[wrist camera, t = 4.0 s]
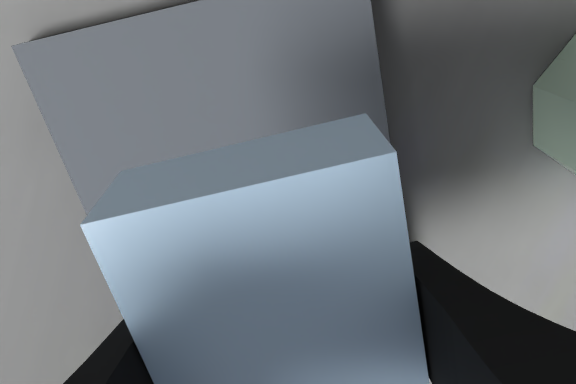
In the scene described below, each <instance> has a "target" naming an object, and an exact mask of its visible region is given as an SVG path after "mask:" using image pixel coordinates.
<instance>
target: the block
mask: <svg viewBox="0 0 576 384" xmlns="http://www.w3.org/2000/svg"><path fill="white" fill-rule="evenodd" d="M80 226H81V228H82V230H83V232H84V234H85V237H86V239H87V241H88V243H89V245H90V247H91V249H92V252H93V254H94V256H95V258H96V260H97V262H98V264H99V267H100V269H101V271H102V273H103V275H104V277H105V280H106V282H107V284H108V286H109V288H110V290H111V292H112V295H113V297H114V299H115V301H116V303H117V305H118V307H119V310H120V312H121V314H122V316H123V318H124V320H125V322H126V325H127V327H128V329H129V331H130V333H131V335H132V337H133V340H134V342H135V344H136V346H137V348H138V350H139V353H140V355H141V357H142V359H143V361H144V363H145V365H146V368H147V370H148V372H149V374H150V376H151V378H152V380H153V383H154V384H429V377H428V370H427V363H426V356H425V349H424V342H423V334H422V327H421V320H420V313H419V306H418V299H417V292H416V285H415V278H414V271H413V264H412V257H411V250H410V243H409V236H408V229H407V222H406V215H405V208H404V201H403V194H402V187H401V180H400V173H399V166H398V159H397V152H396V151H395V149H394V148H393V147H392V145H391V144H390V143H389V142H388V140H387V139H386V138H385V137H384V135H383V134H382V133H381V132H380V130H379V129H378V128H377V127H376V125H375V124H374V123H373V121H372V120H371V119H370V118H369V116H368V115H367V114H366V113H364V114H360V115H356V116H352V117H347V118H343V119H339V120H335V121H330V122H326V123H322V124H318V125H313V126H309V127H305V128H301V129H296V130H292V131H288V132H284V133H280V134H275V135H271V136H267V137H263V138H258V139H254V140H250V141H246V142H241V143H237V144H233V145H229V146H224V147H220V148H216V149H212V150H207V151H203V152H199V153H195V154H191V155H186V156H182V157H178V158H174V159H169V160H165V161H161V162H157V163H152V164H148V165H144V166H140V167H135V168H131V169H127V170H123V171H121V172H120V173H119V174H118V176H117V177H116V178H115V179H114V181H113V182H112V183H111V185H110V186H109V187H108V189H107V190H106V191H105V193H104V194H103V195H102V197H101V198H100V199H99V201H98V202H97V203H96V205H95V206H94V207H93V209H92V210H91V211H90V212H89V214H88V215H87V216H86V218H85V219H84V220H83V222H82V223H81V224H80Z"/></svg>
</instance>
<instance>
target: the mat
mask: <svg viewBox="0 0 576 384" xmlns="http://www.w3.org/2000/svg"><path fill="white" fill-rule="evenodd" d="M12 49H13V51H14V53H15V55H16V58H17V60H18V62H19V64H20V66H21V69H22V71H23V73H24V75H25V78H26V80H27V82H28V84H29V87H30V89H31V91H32V93H33V96H34V98H35V100H36V102H37V105H38V107H39V109H40V111H41V114H42V116H43V118H44V120H45V123H46V125H47V127H48V129H49V131H50V134H51V136H52V138H53V140H54V143H55V145H56V147H57V149H58V152H59V154H60V156H61V158H62V161H63V163H64V165H65V167H66V170H67V172H68V174H69V176H70V179H71V181H72V183H73V185H74V188H75V190H76V192H77V194H78V196H79V199H80V201H81V203H82V205H83V208H84V210H85V212H86V214H87V215H88V214H89V212H90V211H91V210H92V209H93V207H94V206H95V205H96V203H97V202H98V201H99V199H100V198H101V197H102V195H103V194H104V193H105V191H106V190H107V189H108V187H109V186H110V185H111V183H112V182H113V181H114V179H115V178H116V177H117V176H118V174H119V173H120V172H121V171H123V170H127V169H131V168H135V167H140V166H144V165H148V164H152V163H157V162H161V161H165V160H169V159H174V158H178V157H182V156H186V155H191V154H195V153H199V152H203V151H207V150H212V149H216V148H220V147H224V146H229V145H233V144H237V143H241V142H246V141H250V140H254V139H258V138H263V137H267V136H271V135H275V134H280V133H284V132H288V131H292V130H296V129H301V128H305V127H309V126H313V125H318V124H322V123H326V122H330V121H335V120H339V119H343V118H347V117H352V116H356V115H360V114H364V113H366V114H367V115H368V116H369V118H370V119H371V120H372V121H373V123H374V124H375V125H376V127H377V128H378V129H379V130H380V132H381V133H382V134H383V135H384V137H385V138H386V139H387V140H388V142H389V143H390V137H389V130H388V123H387V115H386V108H385V101H384V94H383V86H382V79H381V72H380V64H379V57H378V50H377V43H376V35H375V28H374V21H373V13H372V6H371V0H198V1H194V2H190V3H186V4H182V5H178V6H174V7H169V8H165V9H161V10H157V11H153V12H149V13H145V14H141V15H136V16H132V17H128V18H124V19H120V20H116V21H112V22H108V23H103V24H99V25H95V26H91V27H87V28H83V29H79V30H74V31H70V32H66V33H62V34H58V35H54V36H50V37H46V38H41V39H37V40H33V41H29V42H25V43H21V44H17V45H13V46H12Z"/></svg>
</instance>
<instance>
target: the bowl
mask: <svg viewBox="0 0 576 384" xmlns="http://www.w3.org/2000/svg"><path fill="white" fill-rule="evenodd" d="M533 146H535V147H537V148H538V149H539V150H541V151H542V152H544V153H545V154H546V155H548V156H549V157H551V158H552V159H554V160H555V161H556V162H558V163H559V164H561V165H562V166H563V167H565V168H566V169H568V170H569V171H571V172H572V173H573V174H575V175H576V34H575V35H574V36H573V38H572V39H571V40H570V41H569V42H568V44H567V45H566V46H565V47H564V49H563V50H562V51H561V52H560V53H559V55H558V56H557V57H556V58H555V59H554V61H553V62H552V63H551V64H550V66H549V67H548V68H547V69H546V70H545V72H544V73H543V74H542V75H541V76H540V78H539V79H538V80H537V81H536V83H535V84H534V85H533Z"/></svg>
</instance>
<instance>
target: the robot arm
mask: <svg viewBox="0 0 576 384" xmlns="http://www.w3.org/2000/svg"><path fill="white" fill-rule="evenodd" d="M410 250H411V257H412V264H413V271H414V278H415V285H416V292H417V299H418V306H419V313H420V320H421V327H422V334H423V342H424V349H425V356H426V363H427V370H428V376H429V378H430V380H431V382H432V384H576V331H573V330H571V329H568V328H566V327H564V326H561V325H559V324H556V323H554V322H552V321H550V320H548V319H545V318H543V317H541V316H539V315H537V314H535V313H532V312H530V311H528V310H526V309H524V308H522V307H520V306H518V305H516V304H514V303H512V302H510V301H508V300H507V299H505V298H503V297H501V296H499V295H498V294H496V293H494V292H492V291H490V290H489V289H487V288H485V287H484V286H482V285H481V284H479V283H477V282H476V281H474V280H473V279H471V278H470V277H468V276H467V275H465V274H464V273H462V272H460V271H459V270H458V269H456V268H455V267H453V266H452V265H450V264H449V263H447V262H446V261H445V260H443V259H442V258H440V257H439V256H438V255H436V254H435V253H434V252H432V251H431V250H429V249H428V248H427V247H425V246H424V245H423V244H421V243H419V242H418V241H414V242H410ZM63 384H154V383H153V380H152V378H151V376H150V374H149V372H148V370H147V368H146V365H145V363H144V361H143V359H142V357H141V355H140V353H139V350H138V348H137V346H136V344H135V342H134V340H133V337H132V335H131V333H130V331H129V329H128V327H127V325H126V322H125V320H124V319H123V320H122V321H121V322H120V324H119V325H118V326H117V327H116V328H115V329H114V330H113V331H112V332H111V334H110V335H109V336H108V337H107V338H106V339H105V340H104V341H103V342H102V343H101V345H100V346H99V347H98V348H97V349H96V350H95V351H94V352H93V353H92V354H91V355H90V357H89V358H88V359H87V360H86V361H85V362H84V363H83V364H82V365H81V366H80V367H79V368H78V369H77V370H76V371H75V372H74V373H73V374H72V375H71V376H70V377H69V378H68V379H67V380H66V381H65V382H64V383H63Z"/></svg>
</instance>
